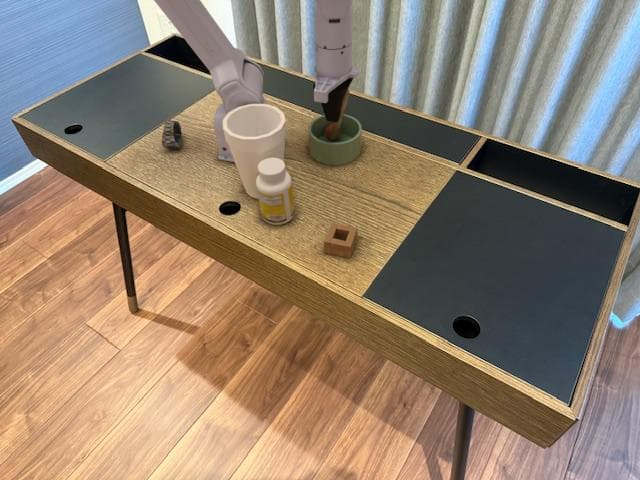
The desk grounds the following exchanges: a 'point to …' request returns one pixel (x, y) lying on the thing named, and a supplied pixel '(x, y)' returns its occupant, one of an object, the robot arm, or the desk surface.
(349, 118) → the bowl
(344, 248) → the stand
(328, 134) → the bead
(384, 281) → the desk surface
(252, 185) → the foam cup
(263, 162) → the supplement bottle
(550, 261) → the desk surface
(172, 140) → the wristwatch
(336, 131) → the stick
